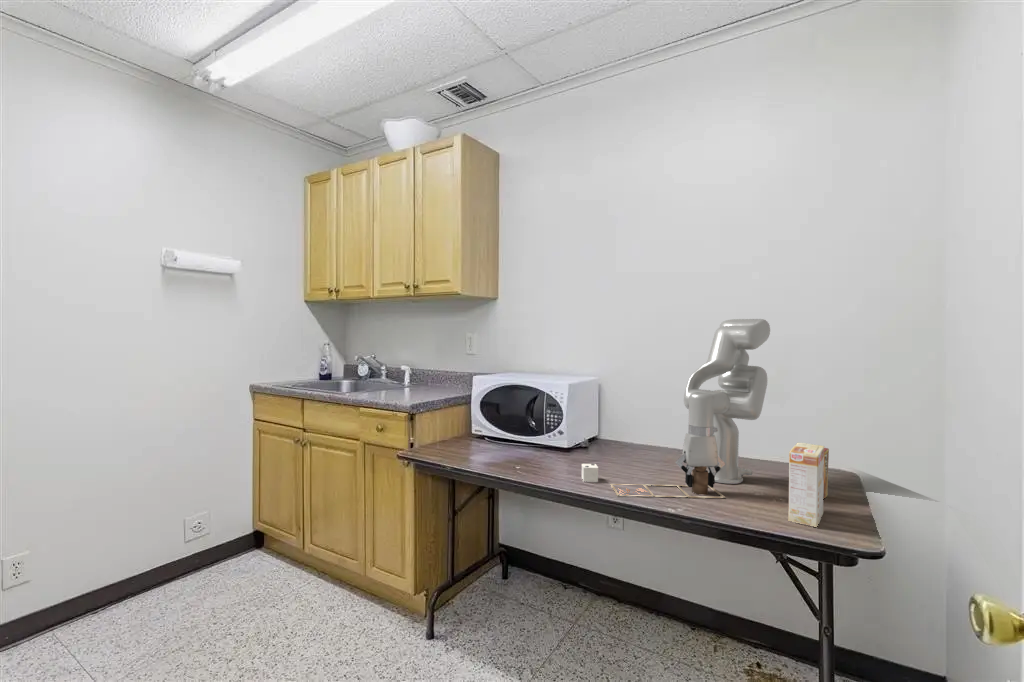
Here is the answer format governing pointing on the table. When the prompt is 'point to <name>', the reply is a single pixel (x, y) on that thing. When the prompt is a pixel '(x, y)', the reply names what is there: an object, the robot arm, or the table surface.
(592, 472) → the die
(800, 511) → the coffeecake box
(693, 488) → the pawn
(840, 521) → the table surface
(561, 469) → the table surface
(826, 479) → the candy box
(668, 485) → the board
